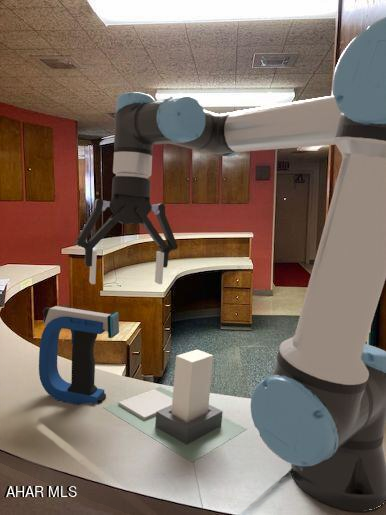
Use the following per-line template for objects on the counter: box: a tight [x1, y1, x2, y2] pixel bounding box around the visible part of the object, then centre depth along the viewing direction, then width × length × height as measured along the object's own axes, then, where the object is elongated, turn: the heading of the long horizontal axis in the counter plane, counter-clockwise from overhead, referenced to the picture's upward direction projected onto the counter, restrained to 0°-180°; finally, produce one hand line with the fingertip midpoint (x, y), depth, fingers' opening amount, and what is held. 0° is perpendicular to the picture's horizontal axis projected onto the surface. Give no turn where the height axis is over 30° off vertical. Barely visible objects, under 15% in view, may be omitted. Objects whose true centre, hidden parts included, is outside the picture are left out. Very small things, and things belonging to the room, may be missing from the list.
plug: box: [171, 349, 214, 423], centre depth 78 cm, size 4×6×14 cm, turn 138°
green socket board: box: [103, 386, 247, 463], centre depth 82 cm, size 24×16×4 cm, turn 48°
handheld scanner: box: [38, 305, 120, 406], centre depth 87 cm, size 5×16×20 cm, turn 79°
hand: (126, 283), depth 84 cm, fingers open, 13 cm apart
